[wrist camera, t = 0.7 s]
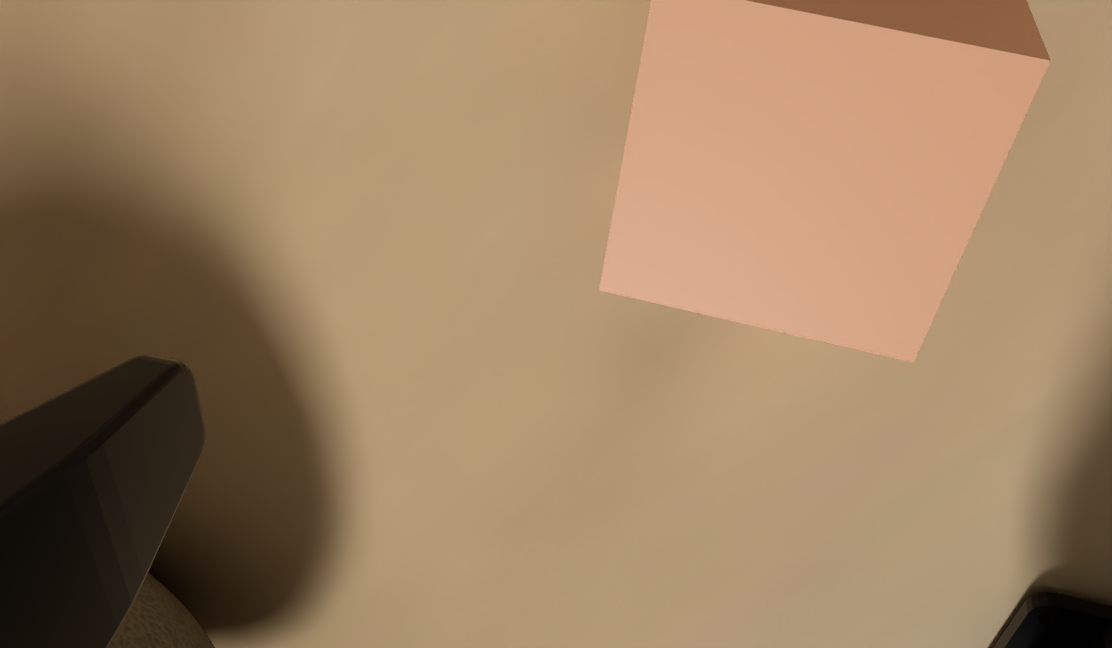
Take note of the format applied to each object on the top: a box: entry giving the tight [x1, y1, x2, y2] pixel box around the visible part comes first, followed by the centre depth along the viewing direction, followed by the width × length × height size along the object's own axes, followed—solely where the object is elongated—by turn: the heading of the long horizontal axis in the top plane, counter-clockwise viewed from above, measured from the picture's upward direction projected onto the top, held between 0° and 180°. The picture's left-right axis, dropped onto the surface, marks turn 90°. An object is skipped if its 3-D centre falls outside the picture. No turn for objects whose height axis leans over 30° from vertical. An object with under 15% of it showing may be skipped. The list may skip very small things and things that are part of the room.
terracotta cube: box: [599, 0, 1050, 362], centre depth 16 cm, size 5×5×5 cm
